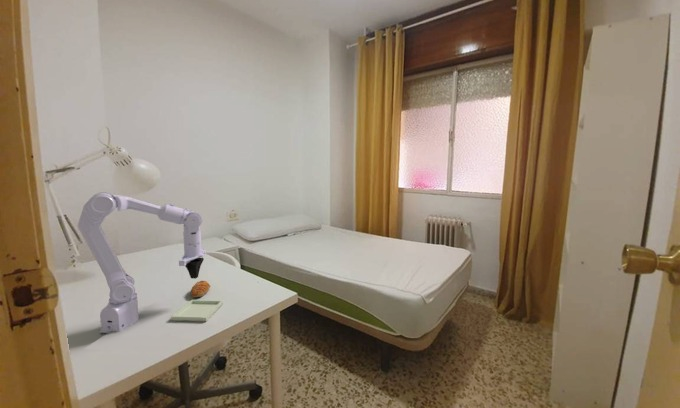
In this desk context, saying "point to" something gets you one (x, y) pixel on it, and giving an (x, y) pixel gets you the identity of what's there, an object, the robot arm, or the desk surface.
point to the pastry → (200, 289)
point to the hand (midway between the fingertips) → (194, 277)
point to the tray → (197, 310)
